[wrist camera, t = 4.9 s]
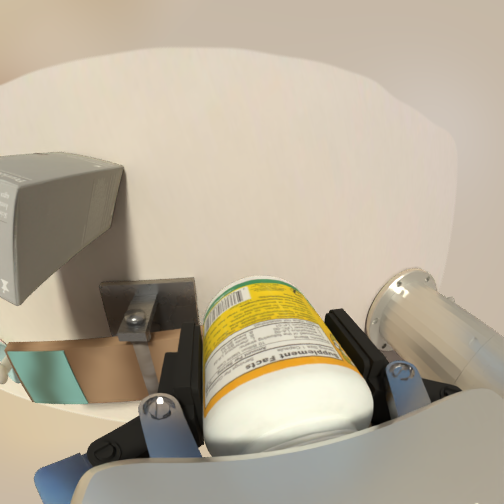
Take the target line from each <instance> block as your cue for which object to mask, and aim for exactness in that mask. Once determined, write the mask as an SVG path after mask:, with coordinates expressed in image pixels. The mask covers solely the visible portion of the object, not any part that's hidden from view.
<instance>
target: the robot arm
mask: <svg viewBox="0 0 504 504" xmlns="http://www.w3.org/2000/svg"><path fill="white" fill-rule="evenodd" d="M324 323H325V325H326V326H327V327H328V329H329V330H330V331H331V333H332V334H333V336H334V337H335V339H336V340H337V341H338V343H339V344H340V346H341V347H342V348H343V350H344V351H345V353H346V354H347V355H348V357H349V358H350V359H351V361H352V362H353V364H354V365H355V366H356V368H357V369H358V371H359V372H360V374H361V375H362V377H363V378H364V380H365V381H366V383H367V385H368V387H369V389H370V391H371V394H372V397H373V416H372V419H371V423H370V425H369V427H368V428H367V429H364V430H361V431H358V432H354V433H351V434H348V435H344V436H341V437H337V438H333V439H329V440H326V441H321V442H317V443H313V444H308V445H304V446H299V447H293V448H288V449H282V450H276V451H269V452H262V453H254V454H245V455H234V456H220V457H202V455H201V453H200V451H199V449H198V448H199V447H200V446H201V445H204V434H203V382H202V353H203V344H202V336H201V328H200V325H195V322H182V325H181V331H180V338H179V344H178V351H177V352H166V353H165V356H164V361H163V366H162V371H161V376H160V381H159V387H158V393H155V394H152V395H149V396H147V397H145V398H144V399H143V400H142V401H141V402H140V404H139V407H138V412H139V416H138V417H136V418H134V419H133V420H131V421H129V422H127V423H126V424H124V425H122V426H121V427H119V428H117V429H115V430H114V431H112V432H110V433H108V434H106V435H105V436H103V437H101V438H99V439H97V440H95V441H94V442H93V443H91V445H90V446H89V448H88V450H87V453H85V454H83V455H81V454H80V453H77V454H75V455H73V456H70V457H68V458H65V459H63V460H61V461H58V462H55V463H53V464H50V465H47V466H45V467H42V468H40V469H39V470H38V471H37V472H36V474H35V476H34V482H35V486H36V488H37V490H38V493H39V495H40V497H41V499H42V502H43V504H504V337H503V336H502V335H500V334H499V333H498V332H496V331H495V330H493V329H492V328H491V327H489V326H488V325H486V324H485V323H484V322H482V321H481V320H479V319H478V318H476V317H475V316H473V315H472V314H470V313H469V312H467V311H466V310H465V309H463V308H461V307H460V306H458V305H457V304H455V301H454V298H453V297H448V298H446V297H445V296H443V295H442V294H440V293H438V292H437V287H436V283H435V280H434V278H433V277H432V276H431V275H430V274H429V273H428V272H426V271H424V270H422V269H418V268H412V269H408V270H405V271H402V272H401V273H399V274H397V275H396V276H394V277H393V278H392V279H391V280H390V281H388V283H387V284H386V285H385V286H384V287H383V288H382V289H381V291H380V292H379V293H378V295H377V296H376V298H375V300H374V302H373V304H372V306H371V308H370V311H369V314H368V318H367V325H366V330H367V335H368V337H367V336H366V334H365V333H364V332H363V331H362V330H361V329H360V328H359V326H358V325H357V324H356V323H355V322H354V321H353V320H352V319H351V317H350V316H349V315H348V314H347V313H346V312H345V311H344V310H343V309H334V310H330V311H329V313H327V314H326V315H325V322H324ZM380 350H382V351H393V350H395V351H396V352H397V353H398V355H399V356H400V357H401V358H402V359H403V360H404V361H400V360H398V361H393V362H391V363H389V362H388V361H387V360H386V357H385V356H384V355H383V354H382V353H381V352H380Z"/></svg>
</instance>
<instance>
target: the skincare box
mask: <svg viewBox="0 0 504 504" xmlns="http://www.w3.org/2000/svg"><path fill="white" fill-rule="evenodd" d="M123 168H124V167H123V166H122V165H119V164H116V163H112V162H108V161H104V160H100V159H96V158H92V157H88V156H83V155H77V154H71V153H64V152H50V153H33V154H21V155H10V156H0V297H1V298H3V299H5V300H6V301H8V302H10V303H12V304H14V305H16V306H19V305H21V304H22V303H23V302H24V301H25V300H26V298H27V297H28V296H29V295H30V294H31V293H33V292H34V291H35V290H36V289H37V288H38V287H39V286H40V285H41V284H42V283H43V282H44V281H46V280H47V279H48V278H49V277H50V276H51V275H52V274H53V273H55V272H56V271H57V270H58V269H59V268H60V267H62V266H63V265H64V264H65V263H66V262H67V261H69V260H70V259H71V258H72V257H73V256H75V255H76V254H77V253H78V252H80V251H81V250H82V249H83V248H85V247H86V246H87V245H88V244H90V243H91V242H92V241H94V240H95V239H96V238H98V237H99V236H100V235H102V234H103V233H104V232H105V231H107V230H108V229H110V227H111V222H112V217H113V211H114V207H115V202H116V197H117V193H118V188H119V184H120V180H121V176H122V172H123Z"/></svg>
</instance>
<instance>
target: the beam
mask: <svg viewBox="0 0 504 504" xmlns="http://www.w3.org/2000/svg"><path fill="white" fill-rule="evenodd" d="M200 328H201V336H202V344H203V325H201V326H200ZM180 331H181V329H174V330H167V331H159V332H151V333H150V332H149V336H148V340H147V341H119V338H118V336H115V337H105V338H93V339H80V340H64V341H43V342H9V343H8V345H7V346H6V348H5V350H4V351H5V353H6V356H7V358H8V360H9V362H10V364H11V366H12V367H13V369H14V371H15V373H16V375H17V377H18V379H19V380H20V382H21V384H22V386H23V387H24V389H25V391H26V392H27V394H28V396H29V397H30V399H31V400H32V402H35V403H49V404H88V403H107V402H123V401H135V400H143V399H144V398H145V397H147V396H149V395H152V394H155V393H158V387H159V381H160V376H161V371H162V366H163V361H164V356H165V353H166V352H177V351H178V344H179V338H180Z"/></svg>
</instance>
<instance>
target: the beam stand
mask: <svg viewBox="0 0 504 504" xmlns="http://www.w3.org/2000/svg"><path fill="white" fill-rule="evenodd" d="M99 288H100V292H101V296H102V301H103V305H104V309H105V313H106V316H107V320H108V324H109V327H110V331H111V334H112V337H115V336H118V338H119V341H147V340H148V336H149V332H150V333H151V332H159V331H167V330H174V329H181V325H182V322H195V325H199V320H198V312H197V303H196V293H195V283H194V277H193V278H176V279H158V280H139V281H117V282H102V283H101V284H100V285H99Z"/></svg>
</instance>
